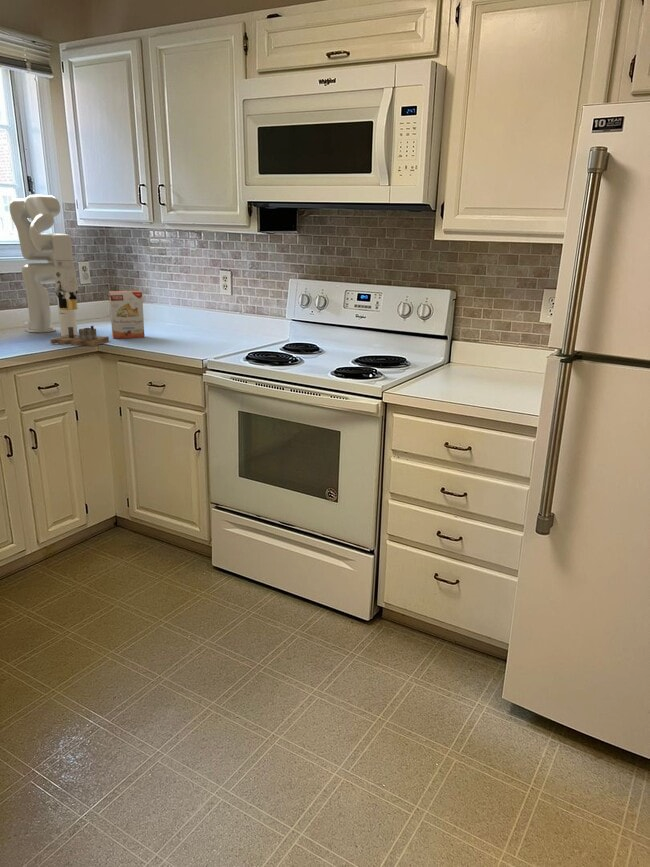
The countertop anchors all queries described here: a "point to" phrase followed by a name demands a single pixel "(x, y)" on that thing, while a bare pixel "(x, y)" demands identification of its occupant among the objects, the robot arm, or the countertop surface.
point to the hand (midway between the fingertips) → (68, 306)
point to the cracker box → (127, 314)
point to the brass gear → (70, 304)
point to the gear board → (79, 341)
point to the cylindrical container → (67, 319)
